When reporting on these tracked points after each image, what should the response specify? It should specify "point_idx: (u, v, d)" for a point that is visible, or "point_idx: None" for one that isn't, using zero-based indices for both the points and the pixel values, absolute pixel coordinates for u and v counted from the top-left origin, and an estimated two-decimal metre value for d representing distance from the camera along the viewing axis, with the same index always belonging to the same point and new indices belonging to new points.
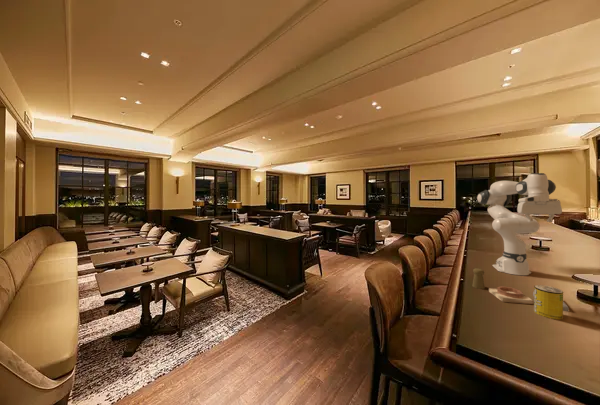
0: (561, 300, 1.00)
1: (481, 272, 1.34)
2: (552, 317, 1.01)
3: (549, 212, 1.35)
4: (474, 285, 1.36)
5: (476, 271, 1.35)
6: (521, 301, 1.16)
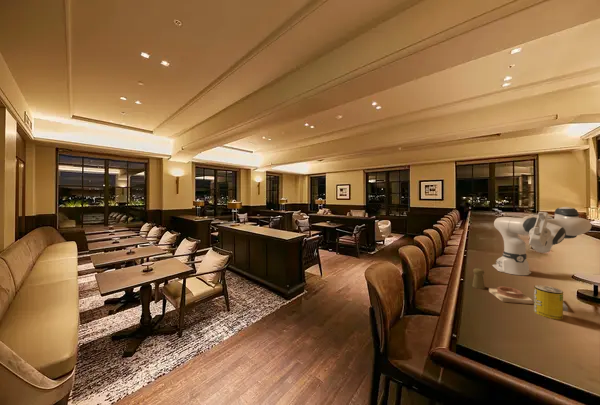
0: (561, 300, 1.00)
1: (481, 272, 1.34)
2: (552, 317, 1.01)
3: (536, 220, 1.30)
4: (474, 285, 1.36)
5: (476, 271, 1.35)
6: (521, 301, 1.16)
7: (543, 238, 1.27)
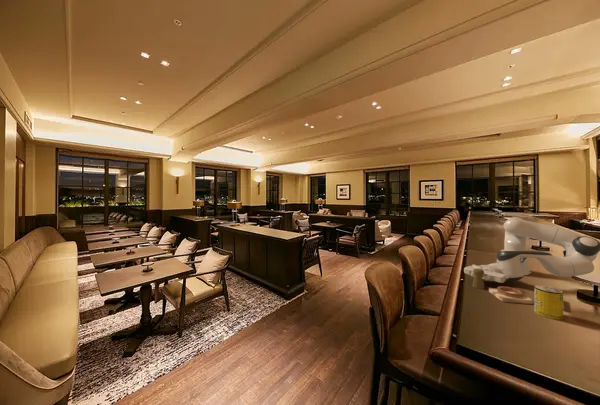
0: (561, 300, 1.00)
1: (481, 272, 1.34)
2: (552, 317, 1.01)
3: (489, 273, 1.35)
4: (474, 285, 1.36)
5: (476, 271, 1.35)
6: (521, 301, 1.16)
7: None
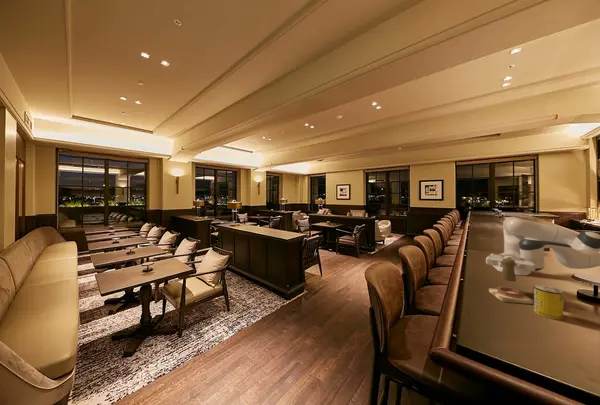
0: (561, 300, 1.00)
1: (513, 262, 1.20)
2: (552, 317, 1.01)
3: (518, 262, 1.23)
4: (505, 277, 1.21)
5: (507, 262, 1.21)
6: (521, 301, 1.16)
7: None
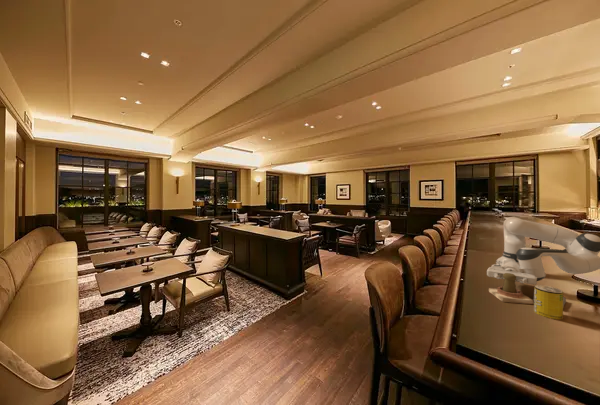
0: (561, 300, 1.00)
1: (514, 277, 1.20)
2: (552, 317, 1.01)
3: (519, 275, 1.22)
4: None
5: (509, 276, 1.20)
6: (521, 301, 1.16)
7: None
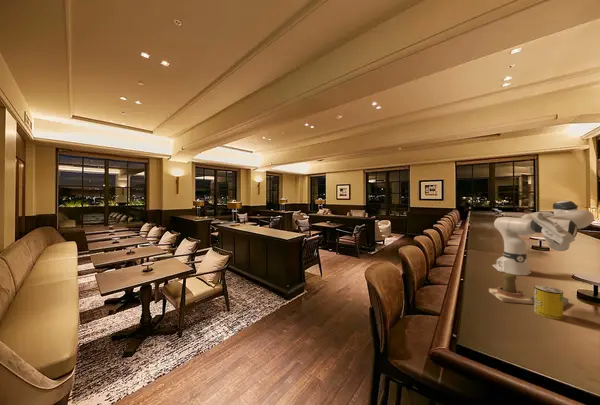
0: (561, 300, 1.00)
1: (514, 277, 1.20)
2: (552, 317, 1.01)
3: (539, 221, 1.27)
4: None
5: (509, 276, 1.20)
6: (521, 301, 1.16)
7: None
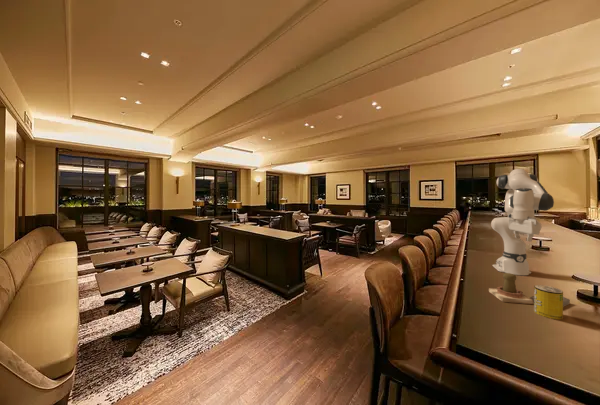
0: (561, 300, 1.00)
1: (514, 277, 1.20)
2: (552, 317, 1.01)
3: (523, 231, 1.28)
4: None
5: (509, 276, 1.20)
6: (521, 301, 1.16)
7: None
